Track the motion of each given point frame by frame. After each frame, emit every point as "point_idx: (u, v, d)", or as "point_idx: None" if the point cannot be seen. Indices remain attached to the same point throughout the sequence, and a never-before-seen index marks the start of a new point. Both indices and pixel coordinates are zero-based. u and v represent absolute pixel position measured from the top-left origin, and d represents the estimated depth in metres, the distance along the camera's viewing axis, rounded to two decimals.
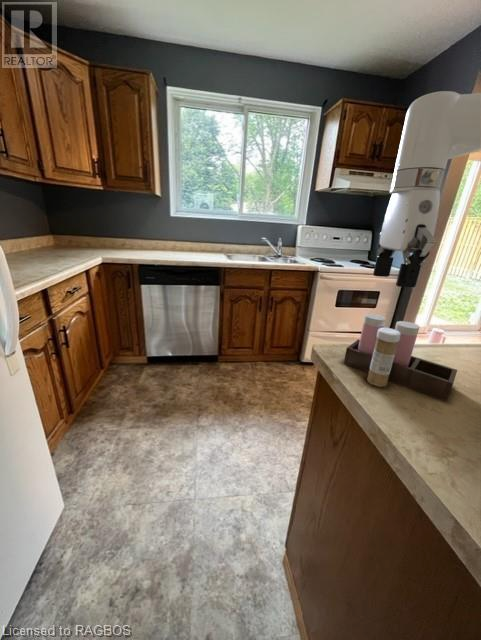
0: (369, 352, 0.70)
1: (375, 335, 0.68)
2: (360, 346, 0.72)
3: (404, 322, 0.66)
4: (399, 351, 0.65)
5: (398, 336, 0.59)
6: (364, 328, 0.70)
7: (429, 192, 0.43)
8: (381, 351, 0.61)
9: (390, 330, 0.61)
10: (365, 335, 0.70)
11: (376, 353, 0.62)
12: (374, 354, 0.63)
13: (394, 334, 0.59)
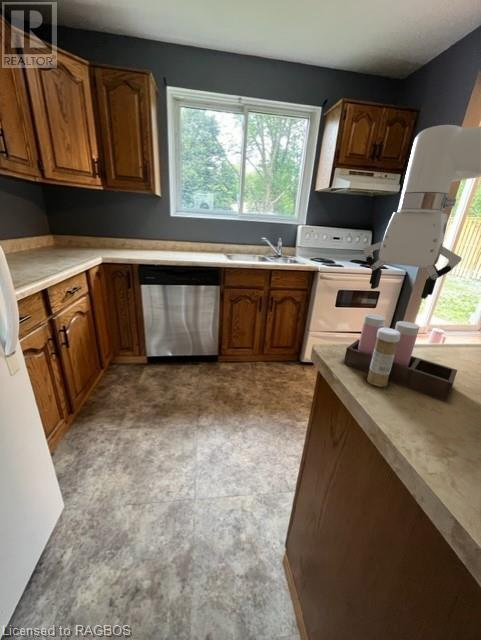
0: (369, 352, 0.70)
1: (375, 335, 0.68)
2: (360, 346, 0.72)
3: (404, 322, 0.66)
4: (399, 351, 0.65)
5: (398, 336, 0.59)
6: (364, 328, 0.70)
7: (446, 216, 0.49)
8: (381, 351, 0.61)
9: (390, 330, 0.61)
10: (365, 335, 0.70)
11: (376, 353, 0.62)
12: (374, 354, 0.63)
13: (394, 334, 0.59)
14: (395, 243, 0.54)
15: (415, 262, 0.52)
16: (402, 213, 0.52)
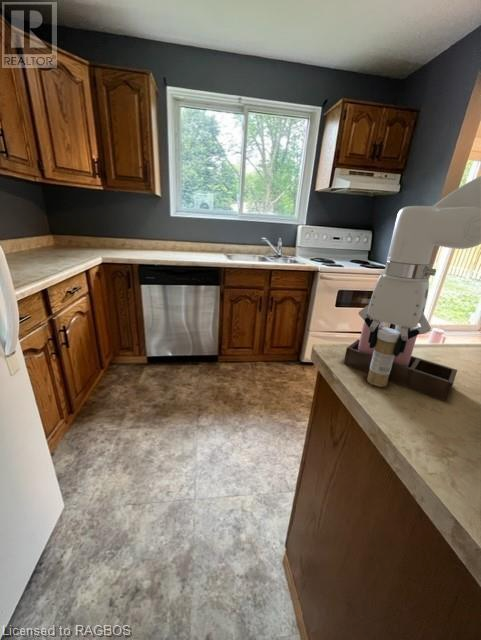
0: (369, 352, 0.70)
1: None
2: (360, 346, 0.72)
3: None
4: None
5: (398, 336, 0.59)
6: (364, 328, 0.70)
7: (427, 283, 0.54)
8: (382, 351, 0.61)
9: (390, 330, 0.61)
10: (365, 335, 0.70)
11: (376, 353, 0.62)
12: (374, 354, 0.63)
13: (394, 334, 0.59)
14: (382, 303, 0.58)
15: (400, 322, 0.57)
16: (387, 278, 0.56)
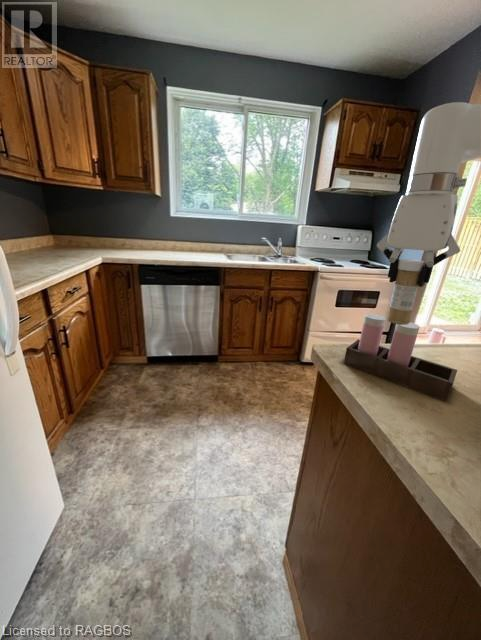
0: (369, 352, 0.70)
1: (375, 335, 0.68)
2: (360, 346, 0.72)
3: None
4: (399, 351, 0.65)
5: (422, 264, 0.53)
6: (364, 328, 0.70)
7: (456, 196, 0.48)
8: (404, 283, 0.55)
9: (413, 260, 0.55)
10: (365, 335, 0.70)
11: (397, 287, 0.56)
12: (395, 288, 0.57)
13: (418, 262, 0.53)
14: (404, 227, 0.53)
15: (425, 246, 0.51)
16: (411, 196, 0.51)
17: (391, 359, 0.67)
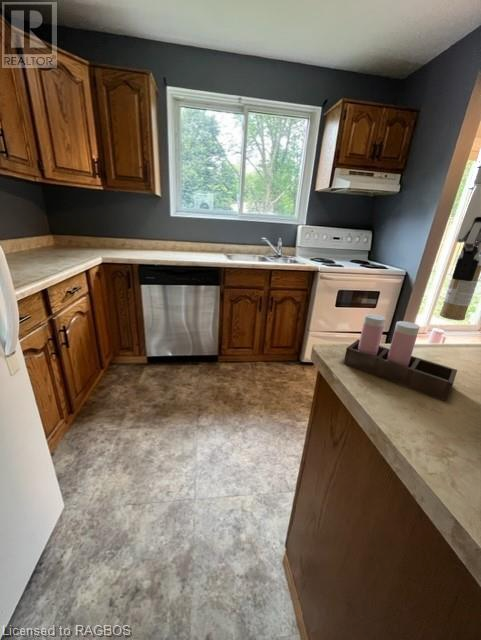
0: (369, 352, 0.70)
1: (375, 335, 0.68)
2: (360, 346, 0.72)
3: (404, 322, 0.66)
4: (399, 351, 0.65)
5: None
6: (364, 328, 0.70)
7: None
8: None
9: None
10: (365, 335, 0.70)
11: (474, 283, 0.54)
12: (470, 286, 0.54)
13: None
14: None
15: None
16: None
17: (391, 359, 0.67)
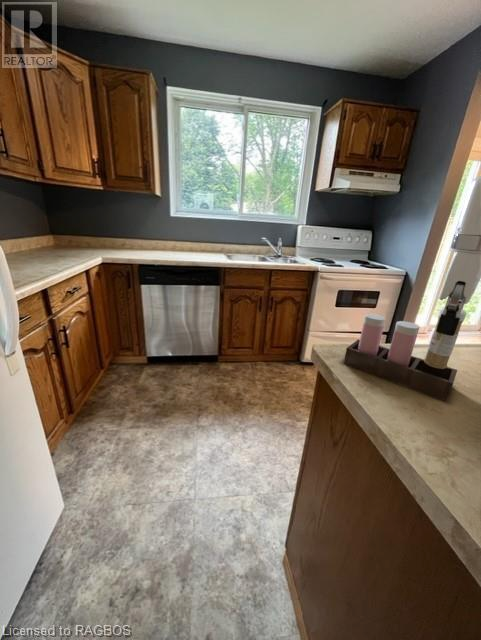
0: (369, 352, 0.70)
1: (375, 335, 0.68)
2: (360, 346, 0.72)
3: (404, 322, 0.66)
4: (399, 351, 0.65)
5: None
6: (364, 328, 0.70)
7: None
8: (458, 331, 0.58)
9: None
10: (365, 335, 0.70)
11: (455, 337, 0.58)
12: (451, 339, 0.58)
13: (461, 310, 0.58)
14: (477, 284, 0.53)
15: None
16: None
17: (391, 359, 0.67)
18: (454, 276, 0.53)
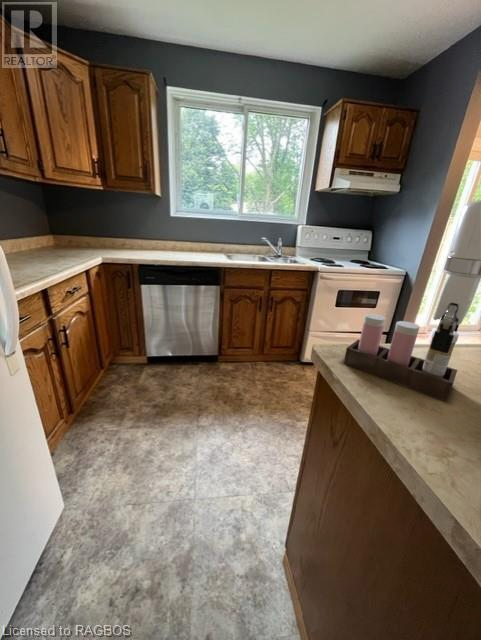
0: (369, 352, 0.70)
1: (375, 335, 0.68)
2: (360, 346, 0.72)
3: (404, 322, 0.66)
4: (399, 351, 0.65)
5: None
6: (364, 328, 0.70)
7: None
8: (451, 352, 0.60)
9: None
10: (365, 335, 0.70)
11: (448, 357, 0.60)
12: (445, 360, 0.60)
13: (454, 331, 0.60)
14: (469, 306, 0.54)
15: None
16: (479, 278, 0.52)
17: (391, 359, 0.67)
18: (447, 298, 0.54)
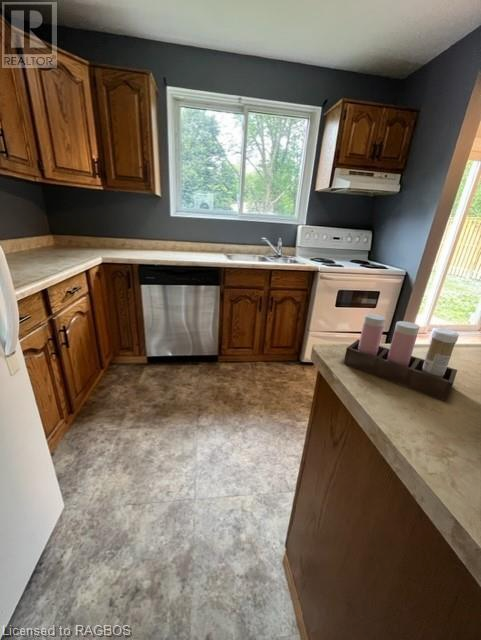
0: (369, 352, 0.70)
1: (375, 335, 0.68)
2: (360, 346, 0.72)
3: (404, 322, 0.66)
4: (399, 351, 0.65)
5: None
6: (364, 328, 0.70)
7: None
8: (451, 352, 0.60)
9: (443, 330, 0.60)
10: (365, 335, 0.70)
11: (448, 357, 0.60)
12: (445, 360, 0.60)
13: (454, 331, 0.60)
14: None
15: None
16: None
17: (391, 359, 0.67)
18: None
